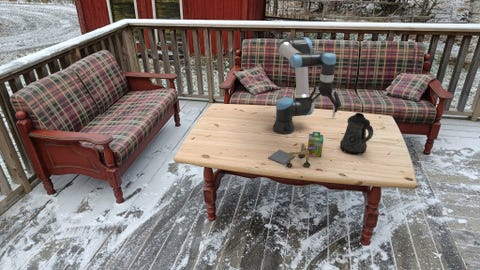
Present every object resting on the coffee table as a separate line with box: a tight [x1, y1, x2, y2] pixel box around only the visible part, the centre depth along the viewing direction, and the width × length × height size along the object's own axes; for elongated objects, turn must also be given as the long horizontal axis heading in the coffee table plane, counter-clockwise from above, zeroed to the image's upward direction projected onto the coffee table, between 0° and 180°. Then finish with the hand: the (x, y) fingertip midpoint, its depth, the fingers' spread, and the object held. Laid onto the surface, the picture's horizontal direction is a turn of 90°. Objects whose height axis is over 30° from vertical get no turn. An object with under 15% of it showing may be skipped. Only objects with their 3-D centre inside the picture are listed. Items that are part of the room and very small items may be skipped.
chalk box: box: [306, 131, 324, 158], centre depth 212 cm, size 9×9×15 cm
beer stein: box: [339, 112, 374, 156], centre depth 213 cm, size 16×19×25 cm
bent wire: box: [285, 143, 311, 169], centre depth 202 cm, size 12×18×10 cm, turn 139°
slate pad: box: [267, 149, 296, 166], centre depth 211 cm, size 12×12×1 cm
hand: (322, 114), depth 204 cm, fingers open, 13 cm apart
